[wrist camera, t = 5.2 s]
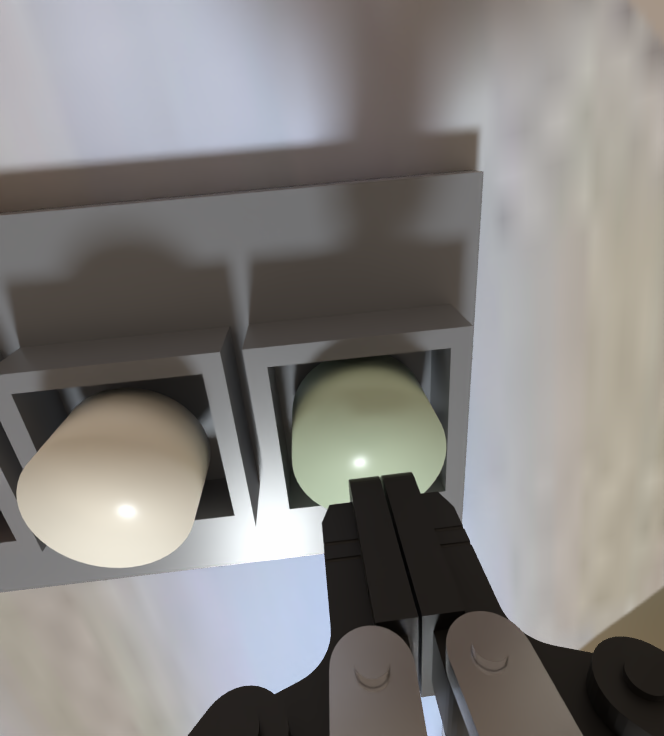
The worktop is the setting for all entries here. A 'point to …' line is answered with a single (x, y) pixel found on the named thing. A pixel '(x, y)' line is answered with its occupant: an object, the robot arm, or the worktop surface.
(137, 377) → the button panel
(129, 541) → the cream button
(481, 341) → the worktop surface
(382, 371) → the sage button
